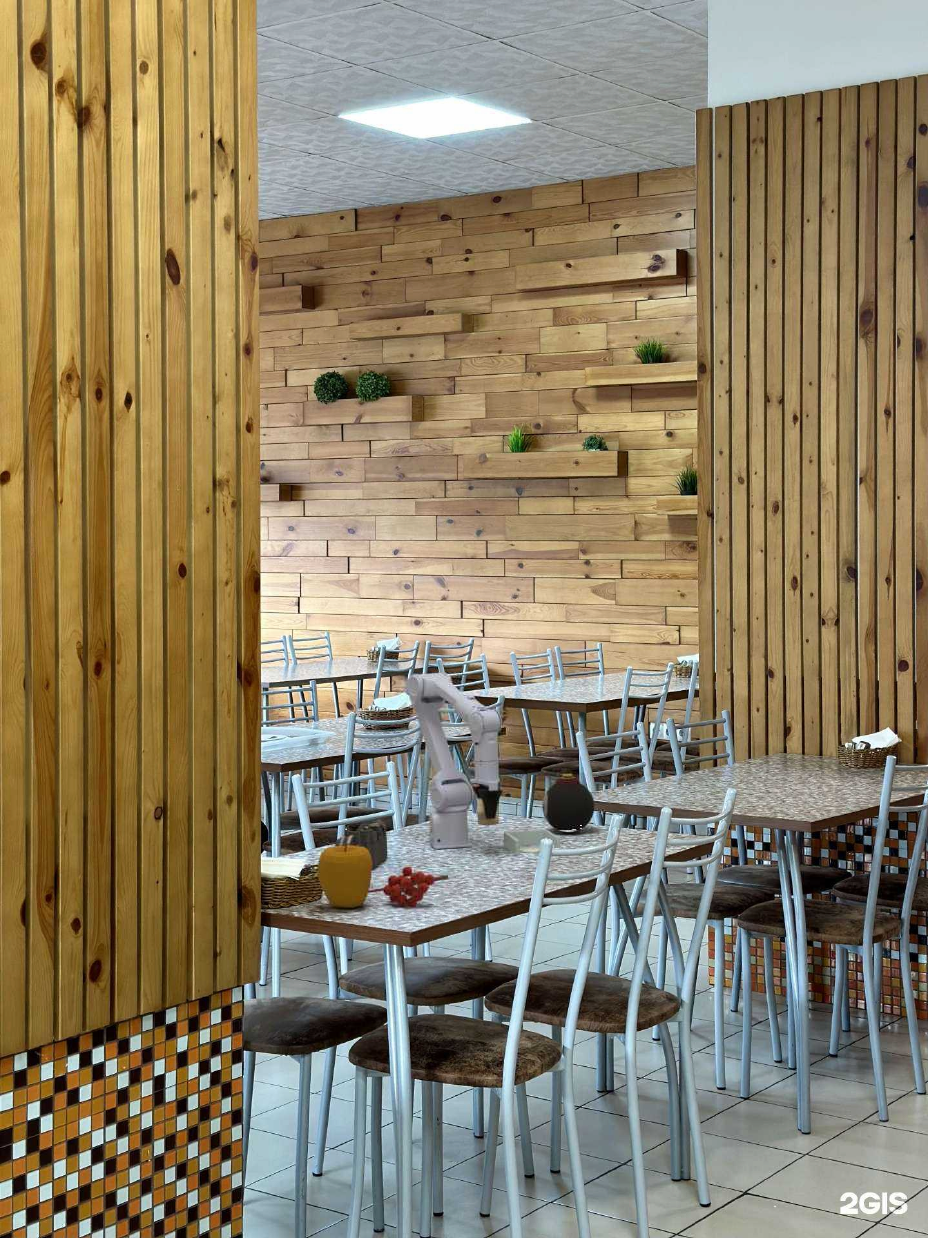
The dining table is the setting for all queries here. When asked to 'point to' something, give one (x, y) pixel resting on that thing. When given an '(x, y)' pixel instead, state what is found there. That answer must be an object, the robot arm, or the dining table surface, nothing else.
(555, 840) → the shallow grey tray
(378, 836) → the camera
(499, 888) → the dining table surface
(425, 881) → the decorative berry sprig
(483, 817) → the birch cylinder
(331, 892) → the apple
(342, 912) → the dining table surface
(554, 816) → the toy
